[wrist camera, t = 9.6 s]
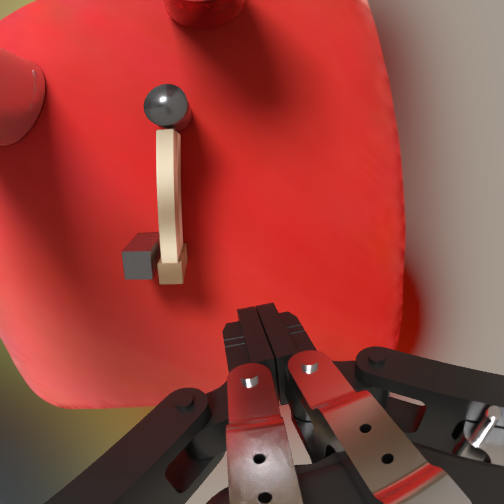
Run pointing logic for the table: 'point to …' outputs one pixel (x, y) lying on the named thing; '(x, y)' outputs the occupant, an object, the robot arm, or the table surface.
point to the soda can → (203, 12)
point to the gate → (170, 208)
